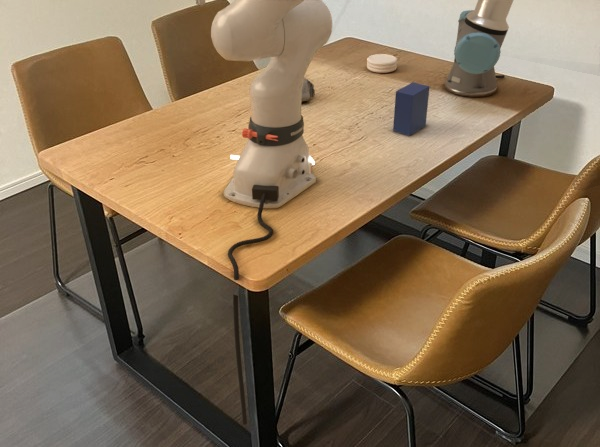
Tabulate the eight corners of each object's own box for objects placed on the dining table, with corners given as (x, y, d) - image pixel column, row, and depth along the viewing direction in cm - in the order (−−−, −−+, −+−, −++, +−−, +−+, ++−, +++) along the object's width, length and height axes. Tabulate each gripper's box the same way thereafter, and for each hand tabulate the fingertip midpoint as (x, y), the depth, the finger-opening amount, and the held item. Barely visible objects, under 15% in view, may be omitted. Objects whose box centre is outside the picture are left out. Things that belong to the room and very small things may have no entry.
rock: (319, 98, 184) (319, 74, 180) (294, 107, 178) (293, 83, 175) (285, 87, 193) (284, 64, 190) (261, 95, 187) (259, 72, 184)
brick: (425, 125, 167) (429, 86, 161) (409, 136, 161) (413, 95, 155) (409, 121, 169) (412, 82, 164) (392, 131, 164) (395, 91, 158)
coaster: (364, 64, 210) (364, 54, 208) (392, 63, 211) (393, 52, 209) (369, 74, 202) (370, 63, 200) (399, 72, 203) (400, 62, 201)
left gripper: (222, -57, 142) (226, 5, 150) (164, -66, 153) (170, -7, 161) (202, -53, 138) (207, 11, 146) (143, -62, 149) (151, -3, 156)
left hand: (187, 1), depth 153 cm, fingers open, 8 cm apart
